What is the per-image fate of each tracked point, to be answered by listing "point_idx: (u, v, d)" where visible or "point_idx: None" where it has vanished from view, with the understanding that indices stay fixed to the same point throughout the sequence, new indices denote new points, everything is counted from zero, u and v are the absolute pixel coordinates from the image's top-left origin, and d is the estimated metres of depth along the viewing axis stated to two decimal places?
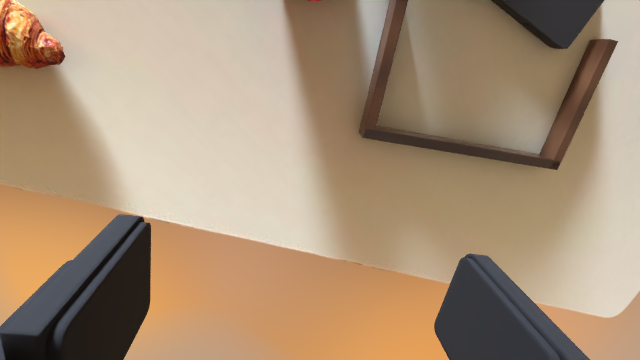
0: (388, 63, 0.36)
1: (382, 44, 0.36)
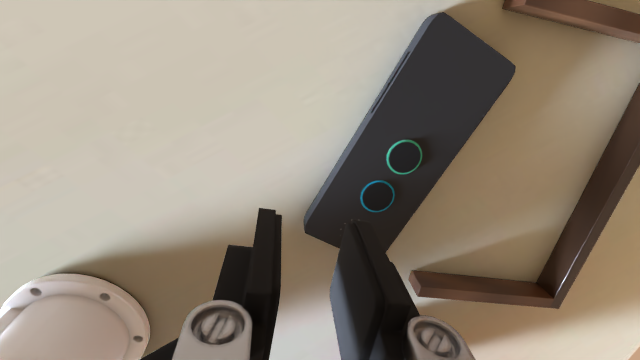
0: (488, 295, 0.32)
1: None
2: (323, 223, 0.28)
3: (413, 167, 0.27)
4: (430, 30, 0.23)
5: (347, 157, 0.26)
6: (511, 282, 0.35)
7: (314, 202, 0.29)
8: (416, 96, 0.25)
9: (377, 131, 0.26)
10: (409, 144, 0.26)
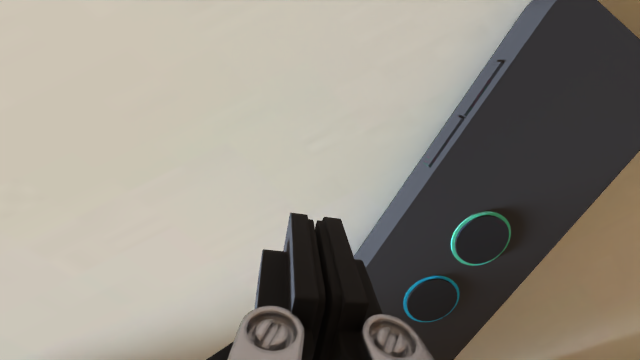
0: None
1: None
2: None
3: (494, 254, 0.16)
4: (550, 21, 0.12)
5: (384, 242, 0.15)
6: None
7: None
8: (511, 140, 0.14)
9: (438, 199, 0.15)
10: (492, 219, 0.15)
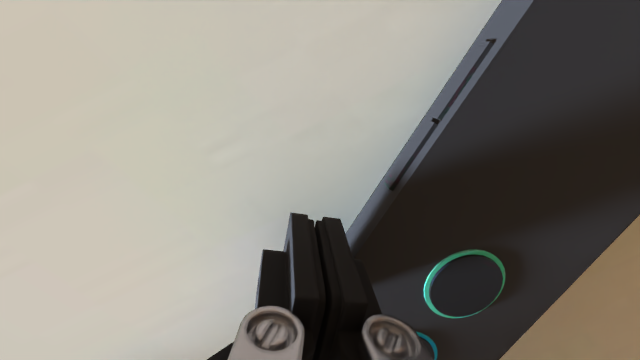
0: None
1: None
2: None
3: (483, 304, 0.12)
4: None
5: None
6: None
7: None
8: (506, 154, 0.10)
9: (404, 234, 0.11)
10: (479, 260, 0.11)
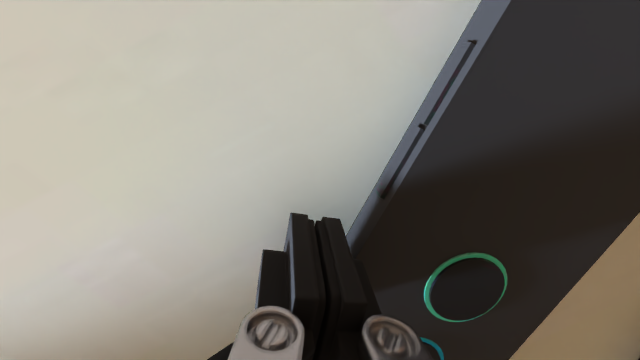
0: None
1: None
2: None
3: (486, 307, 0.12)
4: None
5: None
6: None
7: None
8: (497, 155, 0.10)
9: (399, 242, 0.10)
10: (478, 263, 0.11)
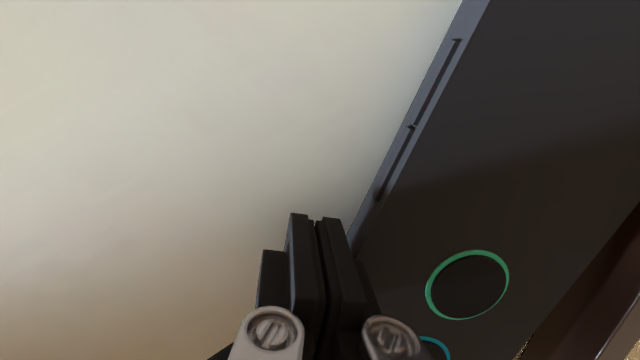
0: None
1: None
2: None
3: (490, 303, 0.12)
4: None
5: None
6: None
7: None
8: (489, 152, 0.10)
9: (396, 243, 0.10)
10: (478, 260, 0.11)
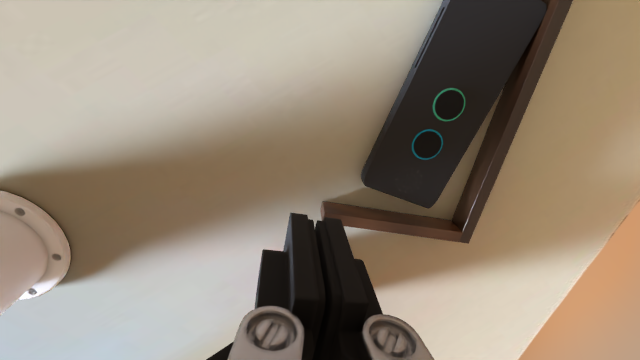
0: (394, 225, 0.33)
1: None
2: (380, 175, 0.32)
3: (458, 113, 0.30)
4: None
5: (397, 111, 0.29)
6: (424, 217, 0.35)
7: (369, 157, 0.32)
8: (455, 46, 0.28)
9: (422, 83, 0.29)
10: (452, 92, 0.29)
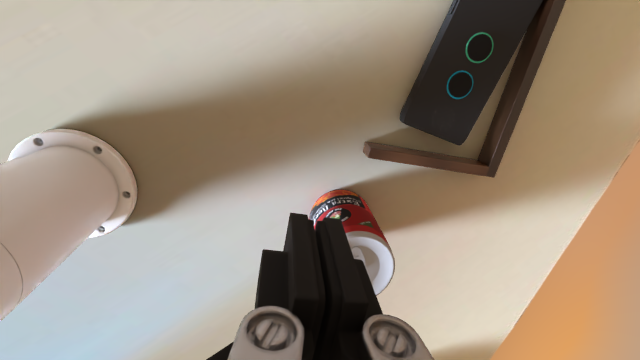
0: (430, 160, 0.37)
1: None
2: (419, 114, 0.36)
3: (487, 55, 0.34)
4: None
5: (435, 53, 0.34)
6: (454, 157, 0.40)
7: (408, 99, 0.36)
8: None
9: (457, 28, 0.33)
10: (483, 35, 0.33)
